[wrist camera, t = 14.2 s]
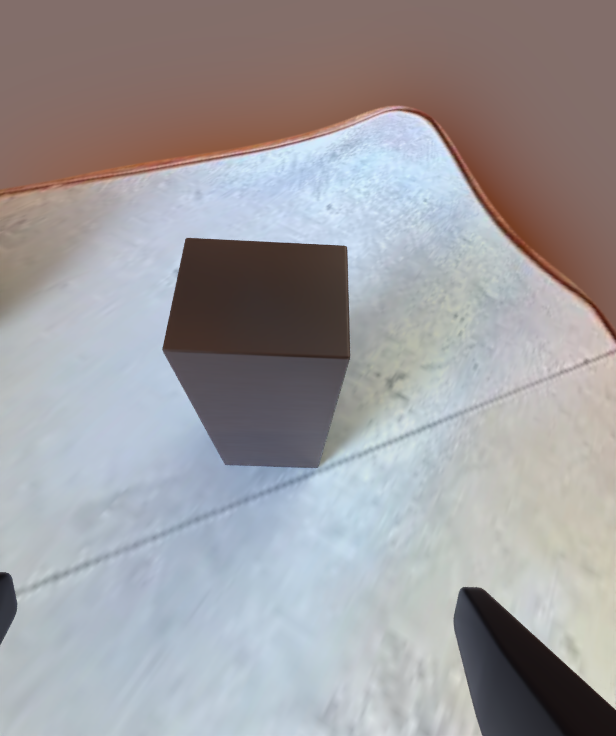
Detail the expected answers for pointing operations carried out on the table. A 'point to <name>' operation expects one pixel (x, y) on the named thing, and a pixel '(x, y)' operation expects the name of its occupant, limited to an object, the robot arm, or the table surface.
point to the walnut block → (261, 345)
